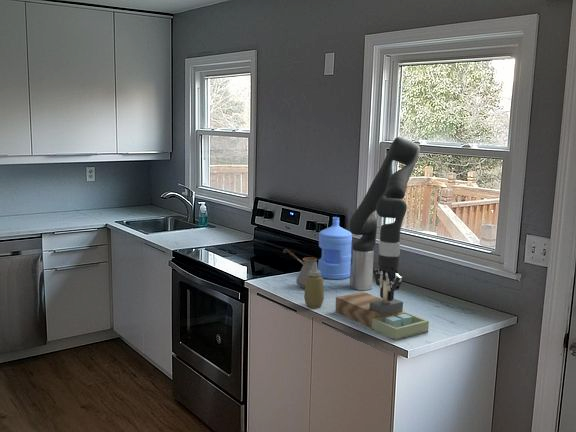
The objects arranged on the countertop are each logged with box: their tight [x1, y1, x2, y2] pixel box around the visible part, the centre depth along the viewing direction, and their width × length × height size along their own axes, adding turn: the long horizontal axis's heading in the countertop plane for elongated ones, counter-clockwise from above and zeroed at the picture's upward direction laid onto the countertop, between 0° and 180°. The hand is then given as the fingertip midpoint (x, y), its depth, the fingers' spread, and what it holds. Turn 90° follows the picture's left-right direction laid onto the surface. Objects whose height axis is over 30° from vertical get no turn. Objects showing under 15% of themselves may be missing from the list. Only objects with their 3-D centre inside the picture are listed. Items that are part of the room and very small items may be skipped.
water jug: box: [317, 216, 353, 280], centre depth 283 cm, size 16×16×28 cm
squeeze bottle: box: [303, 261, 325, 309], centre depth 237 cm, size 8×8×18 cm
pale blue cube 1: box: [385, 316, 401, 328], centre depth 213 cm, size 4×4×4 cm
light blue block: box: [396, 314, 412, 327], centre depth 216 cm, size 4×4×4 cm
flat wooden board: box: [334, 291, 404, 329], centre depth 227 cm, size 22×14×6 cm, turn 34°
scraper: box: [370, 280, 404, 314], centre depth 218 cm, size 6×11×10 cm, turn 126°
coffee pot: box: [282, 248, 318, 290], centre depth 267 cm, size 21×12×15 cm, turn 46°
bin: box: [371, 311, 430, 341], centre depth 213 cm, size 12×16×4 cm
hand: (386, 299), depth 218 cm, fingers closed on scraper, 3 cm apart
